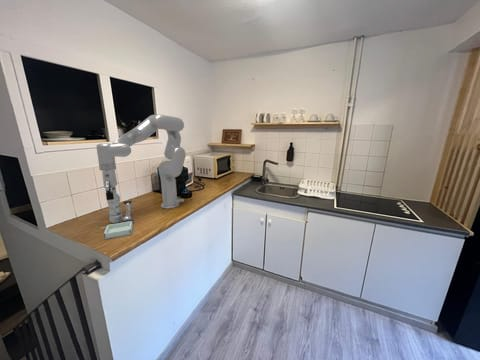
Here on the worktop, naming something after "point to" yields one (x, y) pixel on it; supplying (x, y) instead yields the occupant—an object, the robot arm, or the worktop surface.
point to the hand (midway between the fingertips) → (111, 196)
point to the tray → (118, 230)
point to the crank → (128, 209)
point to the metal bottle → (115, 208)
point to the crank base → (123, 221)
